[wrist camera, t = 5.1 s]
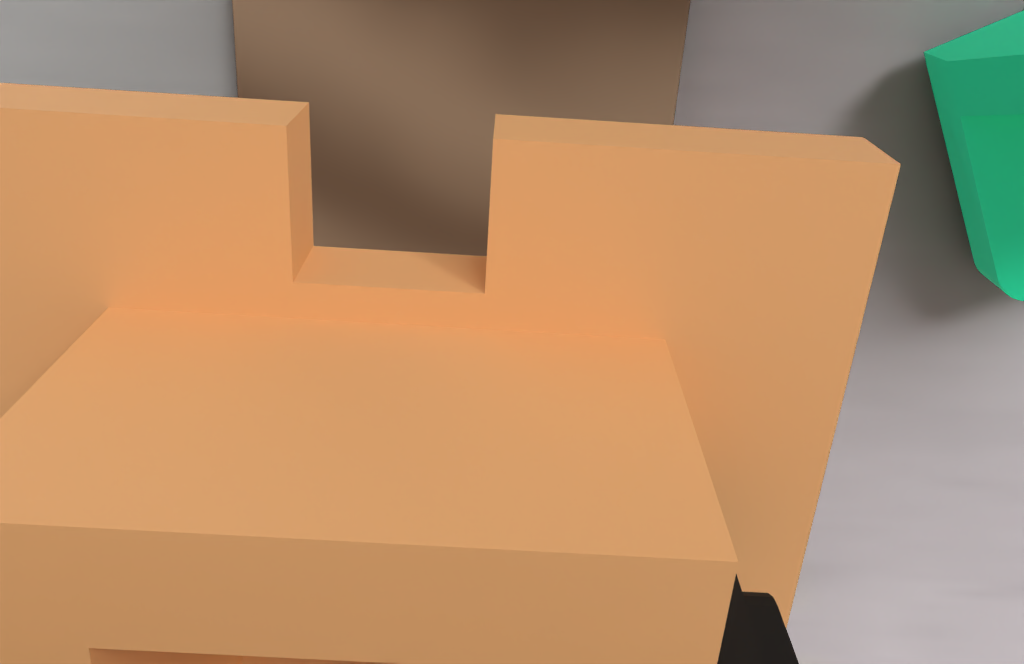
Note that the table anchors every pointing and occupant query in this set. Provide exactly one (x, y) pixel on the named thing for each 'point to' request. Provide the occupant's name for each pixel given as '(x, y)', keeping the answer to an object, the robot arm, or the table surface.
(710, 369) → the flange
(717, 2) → the table surface
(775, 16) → the table surface
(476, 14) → the board
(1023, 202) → the camera mount
